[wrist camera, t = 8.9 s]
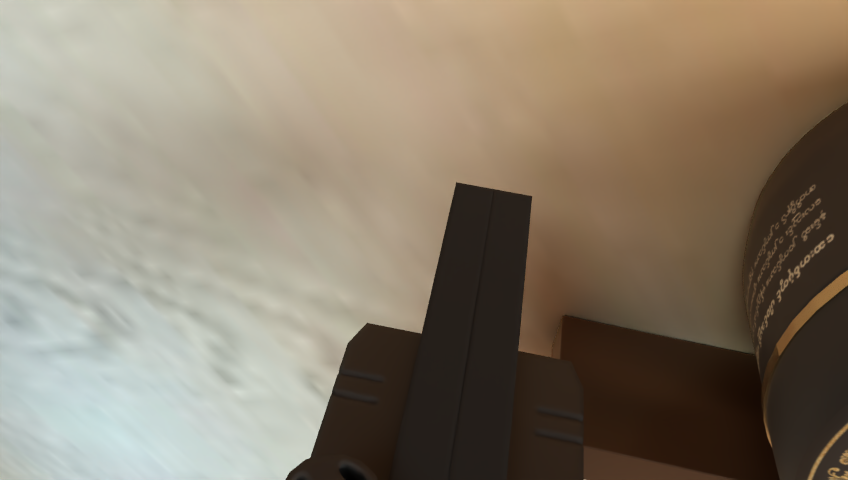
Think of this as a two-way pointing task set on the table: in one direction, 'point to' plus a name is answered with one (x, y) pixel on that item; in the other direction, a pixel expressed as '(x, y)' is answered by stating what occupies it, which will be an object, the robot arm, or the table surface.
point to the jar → (803, 303)
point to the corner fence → (665, 406)
